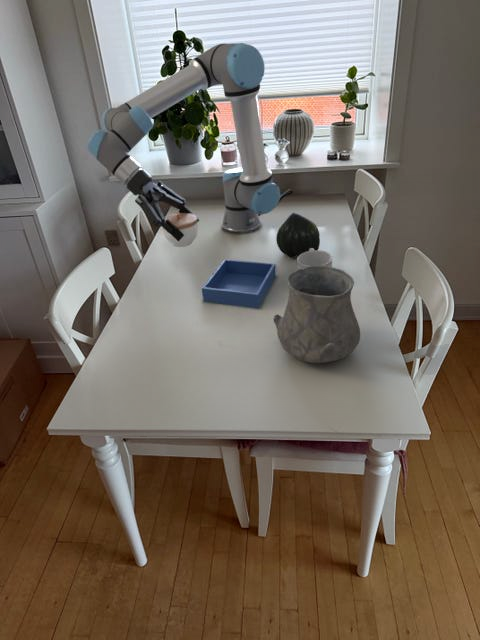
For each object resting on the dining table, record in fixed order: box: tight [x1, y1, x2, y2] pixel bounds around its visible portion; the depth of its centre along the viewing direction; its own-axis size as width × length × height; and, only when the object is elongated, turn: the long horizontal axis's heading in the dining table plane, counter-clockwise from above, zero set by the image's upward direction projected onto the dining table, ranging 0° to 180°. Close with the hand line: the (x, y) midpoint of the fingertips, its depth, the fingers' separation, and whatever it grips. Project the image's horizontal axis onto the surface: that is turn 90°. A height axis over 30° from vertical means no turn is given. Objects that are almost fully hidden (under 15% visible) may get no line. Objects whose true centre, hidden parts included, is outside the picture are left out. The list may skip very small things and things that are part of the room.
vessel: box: [273, 266, 361, 364], centre depth 110 cm, size 22×22×20 cm
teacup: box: [296, 248, 333, 270], centre depth 143 cm, size 14×11×8 cm
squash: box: [275, 212, 321, 259], centre depth 157 cm, size 14×15×15 cm
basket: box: [201, 258, 277, 310], centre depth 141 cm, size 20×18×5 cm
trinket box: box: [162, 212, 199, 248], centre depth 137 cm, size 11×11×9 cm
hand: (189, 230), depth 137 cm, fingers closed on trinket box, 11 cm apart
